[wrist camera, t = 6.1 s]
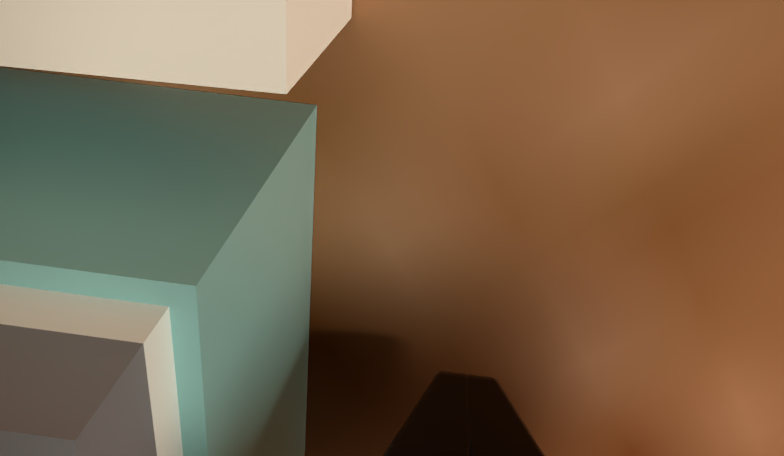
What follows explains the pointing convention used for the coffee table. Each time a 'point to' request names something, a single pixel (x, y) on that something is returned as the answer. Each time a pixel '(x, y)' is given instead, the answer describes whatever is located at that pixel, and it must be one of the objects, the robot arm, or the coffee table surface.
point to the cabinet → (152, 269)
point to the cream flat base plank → (173, 39)
